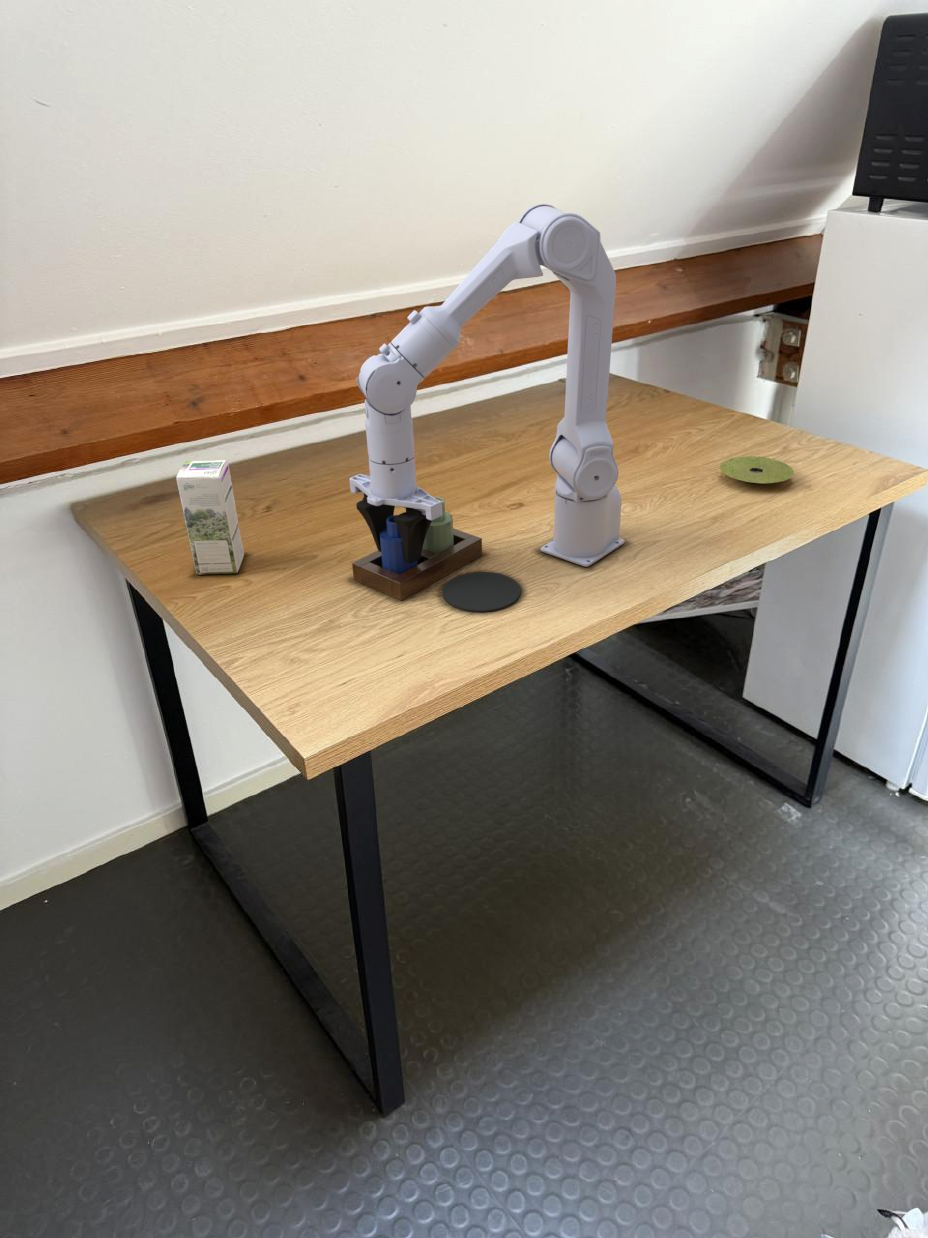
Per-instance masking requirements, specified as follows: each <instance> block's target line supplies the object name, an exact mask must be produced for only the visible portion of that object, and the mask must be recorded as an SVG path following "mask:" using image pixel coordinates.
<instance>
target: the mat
mask: <svg viewBox="0 0 928 1238" xmlns="http://www.w3.org/2000/svg"><path fill="white" fill-rule="evenodd" d="M719 470H720V471H721V473H723V474H724V475H726V476H727V477H729V478H731V479H734V480H738V481H742V482H747V483H753V484H774V483H780V482H784V481H787V480H789V479H791V478H792V477H793V476H794V473H795V471H794V469H793V467H791V466H790V465H789V464H787V463H786V462H784V461H781V460H777V459H775V458H770V457H765V456H754V455H747V456H736V457H731V458H728V459H725V460H724V461H722V462H721V463H720V465H719Z"/></svg>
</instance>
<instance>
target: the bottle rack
mask: <svg viewBox="0 0 928 1238" xmlns="http://www.w3.org/2000/svg"><path fill="white" fill-rule="evenodd" d="M453 539H454V546H452V547H450V548H449V549H447V550H445V551H443V552H441V553H439V554H435V553H433V552H430V551H428V550H425V549H422V553H421V558H420V559H419V560H417V562H418V565H417V566H415V567H413V568H411V569H410V570H408V571H406V572H404V573H402V574H400V575H399V574H396V573H394V572H392V571H389V570H387V569H384V568H383V566H382V555H381V552H379V551H378V549H377V550H375V551H373V552H370V553H369V554H367V555H366V556H365V555H364V556H363V557H361V558H360V559H357V560H355V561H353V562H352V563H351V565H352V575H353V581H355V582H357V583H359V584H361V585H364V586H366V587H368V588H371V589H372V590H376V591H378V592H380V593H382V594H384V595H387V596H389V597H392V598H393V599H396V600H398V601H404V600H405V599H407V598H409V597H410V596H413V595H414V594H416V593H418V592H419V591H421V590H423V589H425V588H427V587H428V586H430V585H432V584H434V583H436V582H437V581H439V580H441V579H443V578H444V577H447V576H448V575H450V574H451V573H453V572H455V571H457V570H458V569H460V568H462V567H464V566H466V565H467V564H469V563H471V562H473V561H474V560H477V559H478V558H479V557H482V556H483V538H482V537H480V536H477V535H473V534H470V533H468V532H466V531H462V530H460V529H458V528H454V527H453Z"/></svg>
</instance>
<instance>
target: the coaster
mask: <svg viewBox="0 0 928 1238" xmlns="http://www.w3.org/2000/svg"><path fill="white" fill-rule="evenodd" d="M521 592H522V591H521V586H520V584H519V583H518V582H517V581H516V580H515V579H513V578H512V577H511V576H508V575H505V574H502V573H498V572H494V571H493V572H492V571H476V572H475V571H474V572H467V573H464V574H460V575H458V576H455V577H453V578H451V579H450V580H449V581H447V582H446V583H445V585H444V586H443V587H442V598H443V600H444V601H445V602H446V603H447V604H448V605H450V606H451V607H452V608H455V609H458V610H460V611H465V612H469V613H470V612H471V613H491V612H497V611H501V610H503V609H506V608H508V607H510V606H512V605H514V604H515V603H516V602H518V600H519V598H520V596H521Z"/></svg>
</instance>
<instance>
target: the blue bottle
mask: <svg viewBox="0 0 928 1238" xmlns="http://www.w3.org/2000/svg"><path fill="white" fill-rule="evenodd" d="M397 515H398V514H394V515H393V516H390V517H388V518H387V520H386V523H387V528H386V529H384V530H382V531H381V532H380V543H381V555H382V566H383V568H384V569H387V570H389V571H392V572H394V573H396V574H399V575H400V574H402V573H404V572H406V571H408V570H410V569H411V568H413V567H415V566H417V565H418V562H417V561H415V562H413V563H411V564H409V563H407V562H406V560H405V556H404V549H403V542H402V538H401V534H400V531H399V529H398V526H397V524H396V523H395V521H394V517H395V516H397Z"/></svg>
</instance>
